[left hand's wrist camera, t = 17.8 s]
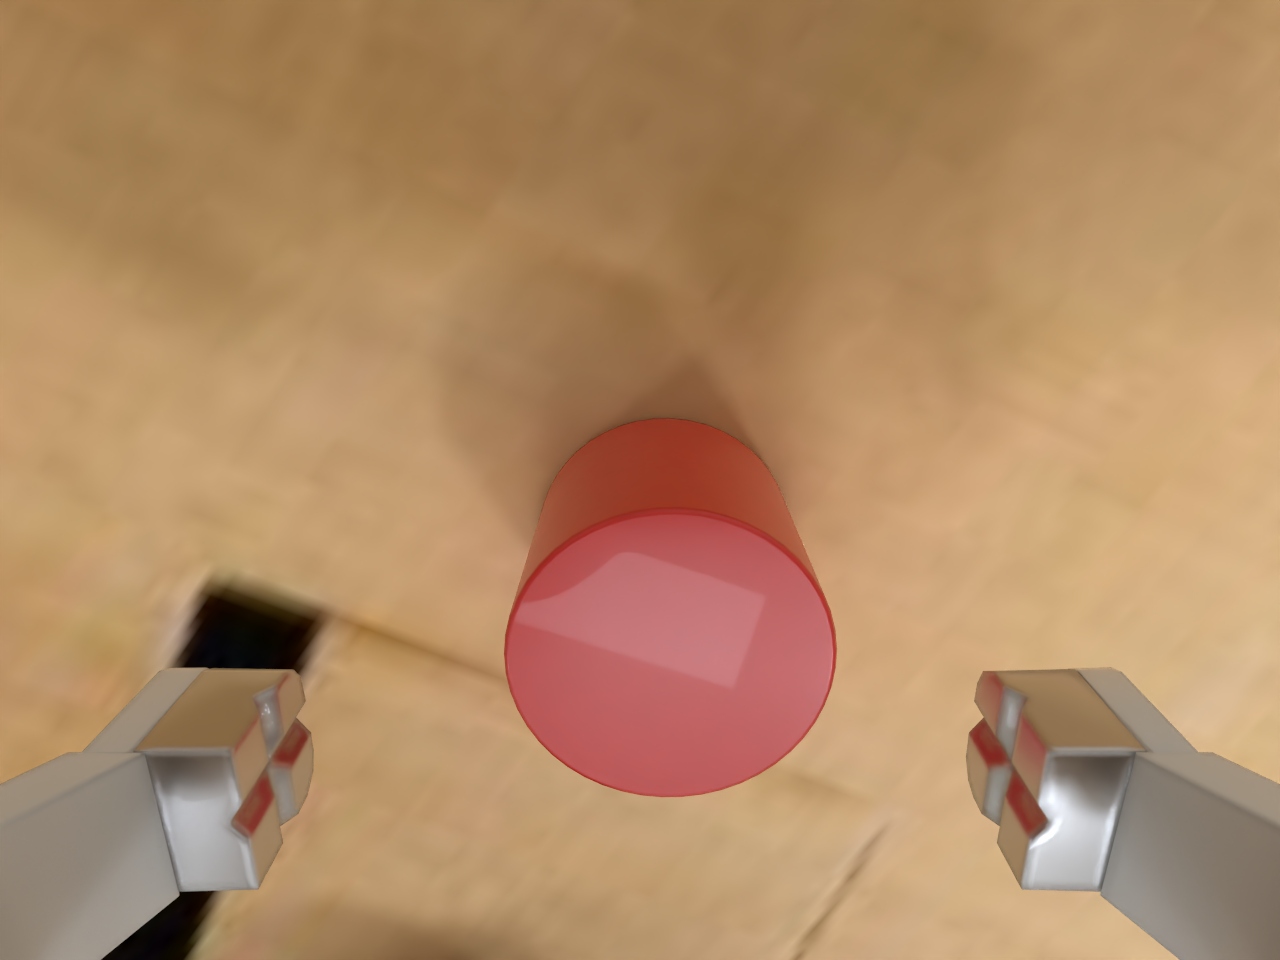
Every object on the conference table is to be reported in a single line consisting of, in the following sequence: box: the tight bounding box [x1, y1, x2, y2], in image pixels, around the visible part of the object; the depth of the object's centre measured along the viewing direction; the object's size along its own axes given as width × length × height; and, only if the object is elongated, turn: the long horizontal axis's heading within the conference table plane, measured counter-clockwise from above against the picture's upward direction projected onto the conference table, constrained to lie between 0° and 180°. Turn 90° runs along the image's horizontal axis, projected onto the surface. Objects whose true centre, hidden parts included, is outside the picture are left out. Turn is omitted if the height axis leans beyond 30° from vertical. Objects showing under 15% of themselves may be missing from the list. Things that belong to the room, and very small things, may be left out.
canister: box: [504, 419, 837, 797], centre depth 14 cm, size 5×5×4 cm
